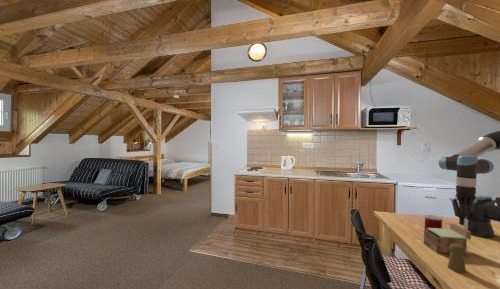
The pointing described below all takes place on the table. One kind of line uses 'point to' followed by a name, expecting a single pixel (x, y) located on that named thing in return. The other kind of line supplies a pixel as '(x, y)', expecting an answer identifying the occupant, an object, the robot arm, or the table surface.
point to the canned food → (432, 222)
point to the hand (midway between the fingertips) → (463, 231)
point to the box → (441, 242)
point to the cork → (457, 258)
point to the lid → (452, 232)
